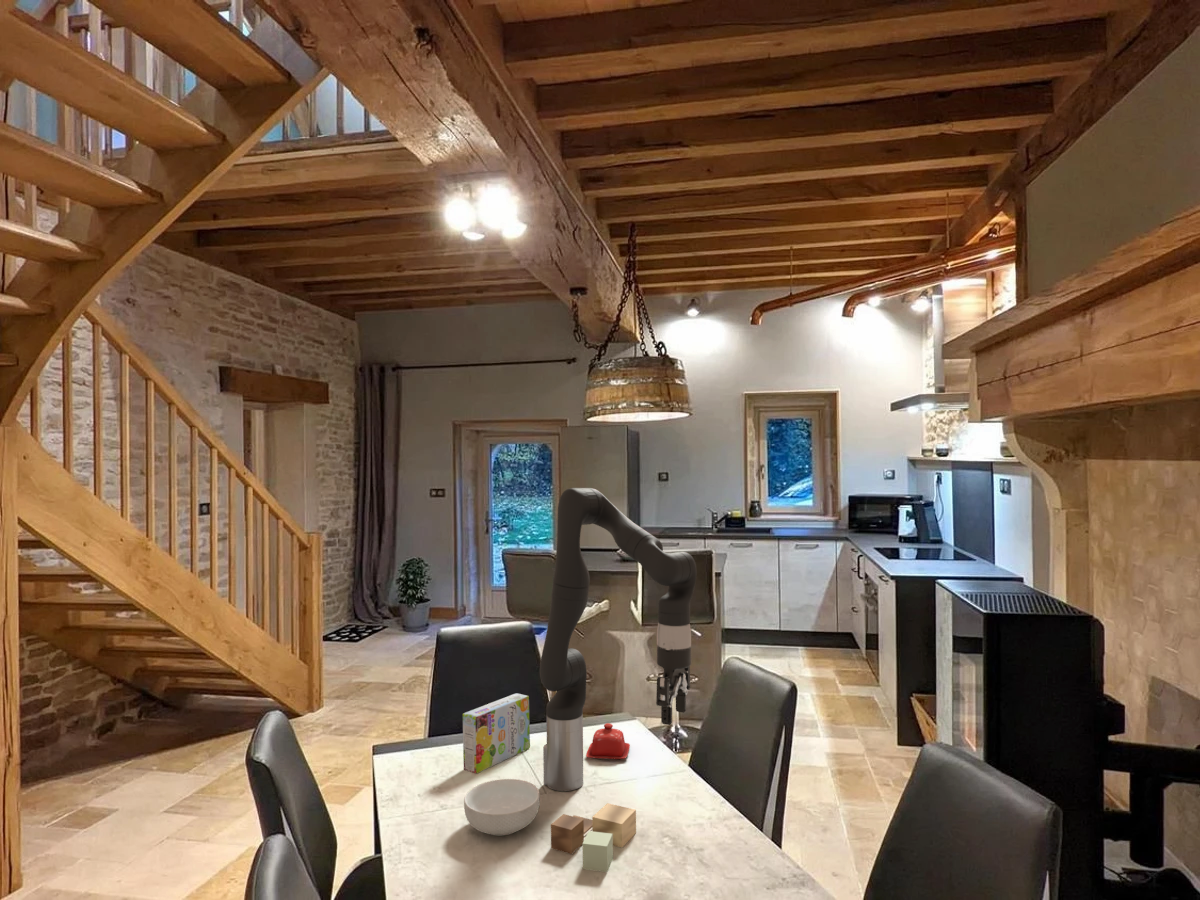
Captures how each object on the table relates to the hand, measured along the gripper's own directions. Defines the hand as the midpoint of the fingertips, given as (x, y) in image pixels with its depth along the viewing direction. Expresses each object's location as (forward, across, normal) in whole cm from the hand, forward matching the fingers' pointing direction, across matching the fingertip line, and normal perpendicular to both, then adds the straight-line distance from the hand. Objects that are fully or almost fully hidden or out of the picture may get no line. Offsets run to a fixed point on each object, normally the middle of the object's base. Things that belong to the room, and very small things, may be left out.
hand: (673, 717), depth 152 cm
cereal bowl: (+25, +15, -35) cm, 46 cm away
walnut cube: (+25, +16, -18) cm, 34 cm away
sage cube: (+24, +19, -9) cm, 32 cm away
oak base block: (+25, +8, -10) cm, 28 cm away
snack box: (+26, -15, -58) cm, 65 cm away
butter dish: (+26, -32, -32) cm, 52 cm away
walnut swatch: (+25, +8, -20) cm, 32 cm away
